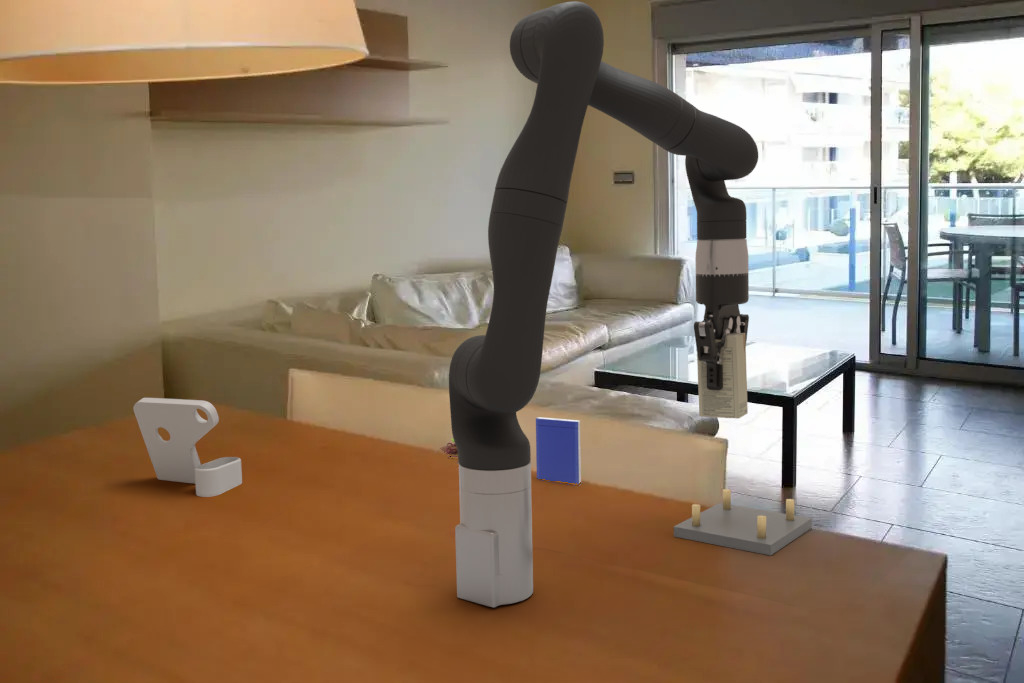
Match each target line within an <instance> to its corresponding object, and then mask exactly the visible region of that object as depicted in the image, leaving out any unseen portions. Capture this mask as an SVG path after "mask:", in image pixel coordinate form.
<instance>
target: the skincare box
mask: <svg viewBox="0 0 1024 683" xmlns="http://www.w3.org/2000/svg"><path fill="white" fill-rule="evenodd" d="M721 340H722V339H721ZM721 340H717V339H715V342H721ZM703 347H704V346H703ZM746 347H747V342H746V343H745V333H731V334H729V335H728V336H727V348H726V349H725V350H724V355H723V362H722V364H721V365H723V388H722V389H721V390H709V389H708V388H707V364H705V363H704V361H699V360H698V353H697V352H696V358H697V359H696V361H697V363H696V364H697V387H698V388H697V390H698V412H699V413H698V415H699V417H700V418H723V419H741V418H742V417H744V416H746V415H747V414H748V408H749V407H748V382H747V378H748V377H747V351H746V350H747V349H746ZM716 351H718V348H716ZM704 353H705V347H704Z"/></svg>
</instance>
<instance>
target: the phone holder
mask: <svg viewBox="0 0 1024 683" xmlns="http://www.w3.org/2000/svg"><path fill="white" fill-rule="evenodd" d="M198 410H201V411H203V413H205V415H206V418H207V420H206V419H204V418H203V417H201V415H200V414H199V413H198ZM133 413H134V415H135V418H136V421H137V424H138V427H139V430H140V433H141V435H142V439H143V441H144V444H145V446H146V450H147V453H148V456H149V459H150V461H151V464H152V466H153V469H154V473H155V475H156V479H157V480H161V481H169V482H178V483H185V484H188V483H189V484H192V485H193V484H195V485H194V486H195V495H196V496H198V497H201V498H210V497H215V496H220V495H221V494H223V493H225V492H226V493H227V491H229V490H231V489H232V490H233V489H234V488H236V487H238V486H240V485H242V483H243V473H242V470H243V469H242V459H241V458H240V457H238V456H224V457H219V458H216V459H214V460H211V461H208V462H205V463H201V461H200V457H199V454H198V451H197V449H196V443H197V442H199V440H201V439H202V438H203V437H204V436H205V435H206V434H208V432H210V431H211V430H212V429H213V428H214V427H216V426H217V425H218V423H219V421H220V417H219V414H218V412H217V409H216V408H215V406H214V405H213V404H212V403H211V402H209V401H206V400H201V399H200V400H199V399H198V400H197V399H184V398H183V399H181V398H164V397H163V398H161V397H143V398H141V399H139V400H138V401H137V402H136V403H134V405H133ZM159 428H163V429H164V430H165V431H166V432H168V434H169V439H168V440H164V439H163V437H162V436H161V435H160V434H159V431H158V430H159Z"/></svg>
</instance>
